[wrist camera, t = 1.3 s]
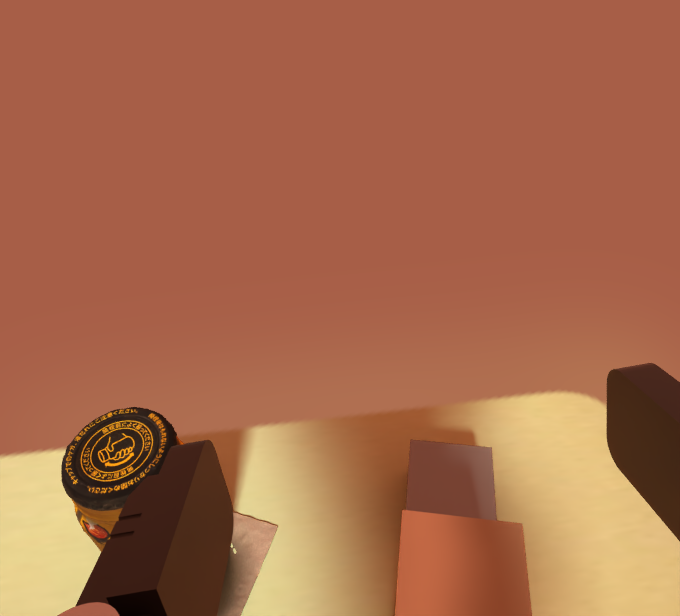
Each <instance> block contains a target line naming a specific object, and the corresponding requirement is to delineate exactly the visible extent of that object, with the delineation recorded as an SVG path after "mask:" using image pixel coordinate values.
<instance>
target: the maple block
mask: <svg viewBox="0 0 680 616" xmlns="http://www.w3.org/2000/svg"><path fill="white" fill-rule="evenodd" d="M395 616H532V612H531V602H530V593H529V583H528V574H527V564H526V555H525V545H524V536H523V526H522V524H520V523H512V522H503V521H495V520H486V519H478V518H469V517H461V516H452V515H444V514H435V513H427V512H418V511H410V510H402V521H401V535H400V548H399V562H398V576H397V590H396V604H395Z"/></svg>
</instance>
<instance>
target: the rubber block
mask: <svg viewBox="0 0 680 616" xmlns="http://www.w3.org/2000/svg"><path fill="white" fill-rule="evenodd" d="M406 510H410V511H418V512H427V513H435V514H444V515H452V516H461V517H469V518H478V519H486V520H495V521H497V518H496V504H495V489H494V475H493V460H492V448H491V447H480V446H470V445H460V444H450V443H440V442H430V441H420V440H411V441H410V454H409V466H408V482H407V499H406Z"/></svg>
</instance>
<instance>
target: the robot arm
mask: <svg viewBox="0 0 680 616" xmlns="http://www.w3.org/2000/svg"><path fill="white" fill-rule="evenodd" d="M607 442H608V447H609V450H610V453H611V456H612V458H613V460H614V462H615V464H616V465H617V467H618V468H619V470H620V471H621V472H622V473H623V474H624V475H625V477H626V478H627V479H628V480H629V481H630V483H631V484H632V485H633V486H634V487H635V489H636V490H637V491H638V492H639V493H640V495H641V496H642V497H643V498H644V499H645V500H646V502H647V503H648V504H649V505H650V506H651V508H652V509H653V510H654V511H655V512H656V514H657V515H658V516H659V517H660V518H661V520H662V521H663V522H664V523H665V524H666V525H667V527H668V528H669V529H670V530H671V531H672V533H673V534H674V535H675V536H676V537H677V539H678V540H679V541H680V382H678V381H677V380H676V379H674V378H673V377H672V376H670V375H669V374H668V373H666V372H665V371H664V370H662V369H661V368H660V367H658V366H657V365H655V364H653V363H647V364H642V365H636V366H630V367H625V368H619V369H613V370H611V371H610V372H609V374H608V378H607ZM118 518H119V521H116V523H115V525H114V527H113V529H112V531H111V533H110V539H109V540H107V542H106V544H105V546H104V548H103V550H102V552H101V554H100V556H99V558H98V561H97V563H96V565H95V567H94V569H93V571H92V573H91V575H90V577H89V579H88V581H87V583H86V585H85V588H84V590H83V592H82V594H81V596H80V598H79V600H78V602H77V604H76V606H75V607H73V608H71V609H69V610H67V611H65V612H63V613H61V614H60V615H58V616H217V613H218V608H219V603H220V598H221V593H222V587H223V582H224V577H225V572H226V567H227V561H228V556H229V551H230V546H231V541H232V536H233V527H234V518H233V509H232V503H231V499H230V496H229V493H228V489H227V486H226V483H225V480H224V477H223V473H222V470H221V467H220V464H219V461H218V457H217V454H216V451H215V448H214V446H213V444H212V442H211V441H210V440H204V441H199V442H193V443H187V444H182V445H176V446H172V447H171V448H170V449H169V451H168V453H167V456H166V458H165V461H164V463H163V465H162V468H161V470H160V472H159V474H157V475H151V476H147V477H146V478H145V479H144V480H143V481H142V482H141V483H140V484H139V486H138V487H137V488H136V489H135V490H134V491H133V492H132V493H131V494H130V495H129V496H128V498H127V500H126V502H125V504H124V506H123V508H122V511H121V513H120V515H119V517H118Z"/></svg>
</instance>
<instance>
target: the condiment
mask: <svg viewBox="0 0 680 616" xmlns="http://www.w3.org/2000/svg"><path fill="white" fill-rule="evenodd" d="M182 444H184V443H183V442H181V441H180V440H179V439H178V437H177V434H176V432H175V431H174V428H173V427H172V424H170V423H169V422H168V421H167V420H166V418H164V417H163V416H162V415H161V414H159V413H157V412H155V411H151V410H149V409H143V408H137V407H131V408H126V409H117V410H114V411H110V412H109V413H107V414H105V415H102V416H100V417H99V418H97V419H95V420H93V421H92V422H91V423H89V424H88V425H86V426H85V427H84V428H83V429H82V430H81V431H80V432H79V434H78V435H77V436H76V437H75V438H74V439H73V441H72V442H71V443H70V445H68V446H67V449H66V453H65V455H64V457H63V461H62V483H63V486H64V488H65V491H66V493H67V494H68V496H69V497H70V498H71V499H72V501H73V503H74V504H75V512H76V516H77V518H78V521H79V523H80V525H81V526H82V529H83V530H84V532H86V533H87V535H88V536H89V537H90V538H91V539H92V540H93V542H94V543H95V544H96V545H97V547H98V548H99V549H100V551H101V552H102V550H103V548H104V546H105V544H106V542H107V540H109V539H110V533H111V531H112V529H113V527H114V525H115V523H116V521H119V518H118V517H119V515H120V513H121V511H122V508H123V506H124V504H125V502H126V500H127V498H128V496H129V495H130V494H131V493H132V492H133V491H134V490H135V489H136V488H137V487H138V486H139V484H140V483H141V482H142V481H143V480H144V479H145V478H146V477H147V476H151V475H157V474H159V472H160V470H161V468H162V465H163V463H164V461H165V458H166V456H167V453H168V451H169V449H170V448H171V447H172V446H176V445H182ZM233 518H234V527H233V536H232V541H231V543H233V548H235V549H236V551H237V553H236V554H234V552H233V548H231V547H230V551H229V556H228V561H227V567H226V572H225V577H224V582H223V587H222V593H221V598H220V603H219V608H218V613H217V616H240V615H241V613H242V610H243V608H244V606H245V604H246V602H247V599H248V597H249V594H250V592H251V590H252V587H253V585H254V583H255V580H256V578H257V577H258V574H259V571H260V568H261V566H262V563H263V561H264V558H265V556H266V554H267V552H268V550H269V547H270V544H271V542H272V539H273V537H274V535H275V532H276V530H277V528H278V526H275V525H272V524H269V523H266V522H263V521H259V520H256V519H253V518H251V517H248V516H243V515H240V514H238V513H235V512H233Z"/></svg>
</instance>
